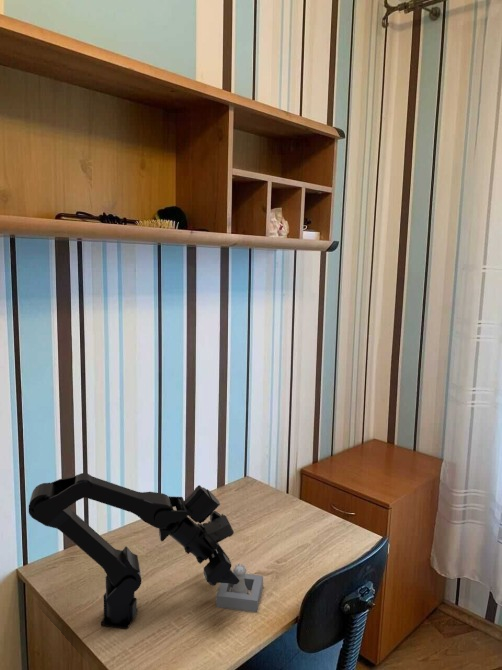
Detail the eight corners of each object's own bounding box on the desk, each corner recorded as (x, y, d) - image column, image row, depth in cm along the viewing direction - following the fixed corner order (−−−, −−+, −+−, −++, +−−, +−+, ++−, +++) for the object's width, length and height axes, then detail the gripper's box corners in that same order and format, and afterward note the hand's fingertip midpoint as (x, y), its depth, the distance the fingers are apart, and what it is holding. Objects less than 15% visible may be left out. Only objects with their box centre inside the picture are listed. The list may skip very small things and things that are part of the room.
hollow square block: (215, 607, 124) (216, 595, 124) (224, 581, 134) (224, 571, 134) (257, 612, 123) (257, 600, 122) (262, 586, 132) (263, 575, 132)
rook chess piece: (230, 591, 130) (230, 561, 129) (247, 590, 131) (248, 561, 129) (230, 602, 126) (231, 572, 125) (248, 602, 126) (249, 572, 125)
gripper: (223, 528, 114) (268, 567, 119) (204, 492, 131) (244, 527, 136) (187, 567, 113) (234, 605, 118) (173, 525, 130) (215, 559, 135)
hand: (232, 571), depth 127 cm, fingers open, 9 cm apart
